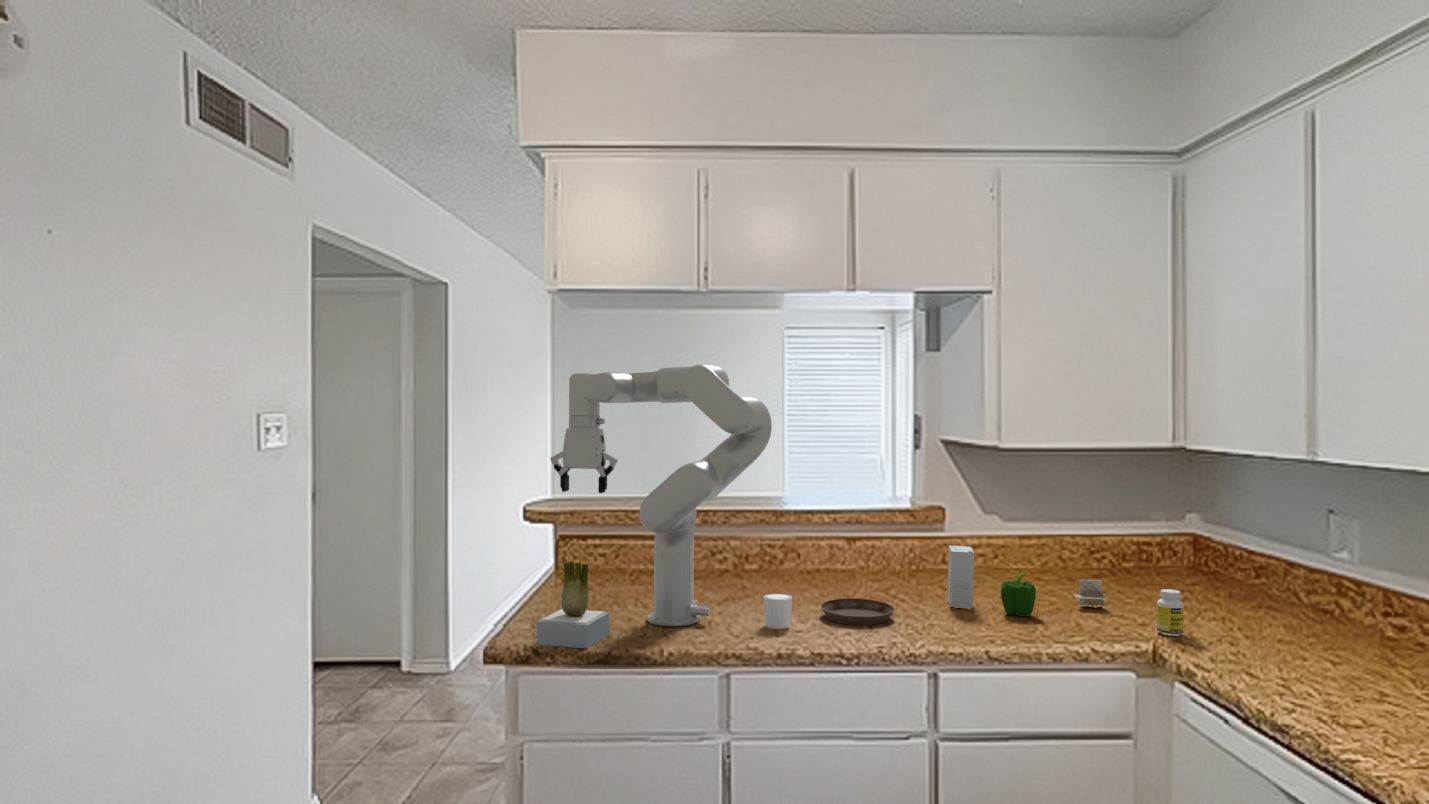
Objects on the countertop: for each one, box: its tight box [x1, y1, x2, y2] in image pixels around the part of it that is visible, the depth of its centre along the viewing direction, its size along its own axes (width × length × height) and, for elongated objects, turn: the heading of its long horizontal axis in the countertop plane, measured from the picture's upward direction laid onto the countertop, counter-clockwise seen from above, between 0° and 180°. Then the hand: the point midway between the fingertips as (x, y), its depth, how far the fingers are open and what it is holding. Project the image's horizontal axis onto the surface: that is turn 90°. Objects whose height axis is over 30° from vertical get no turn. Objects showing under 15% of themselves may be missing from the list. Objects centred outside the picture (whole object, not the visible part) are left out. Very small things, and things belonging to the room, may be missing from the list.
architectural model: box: [1074, 579, 1106, 607], centre depth 232 cm, size 3×7×7 cm, turn 78°
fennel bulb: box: [561, 560, 589, 616], centre depth 202 cm, size 6×5×12 cm
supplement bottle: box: [1156, 588, 1185, 635], centre depth 207 cm, size 5×5×10 cm
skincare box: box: [947, 545, 975, 609], centre depth 235 cm, size 8×6×15 cm
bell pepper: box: [1000, 572, 1037, 617], centre depth 225 cm, size 8×8×10 cm
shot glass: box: [762, 593, 793, 630], centre depth 214 cm, size 7×7×7 cm
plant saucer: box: [820, 597, 895, 626], centre depth 222 cm, size 18×18×3 cm
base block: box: [536, 608, 610, 649], centre depth 202 cm, size 12×12×5 cm
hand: (583, 491), depth 227 cm, fingers open, 9 cm apart
